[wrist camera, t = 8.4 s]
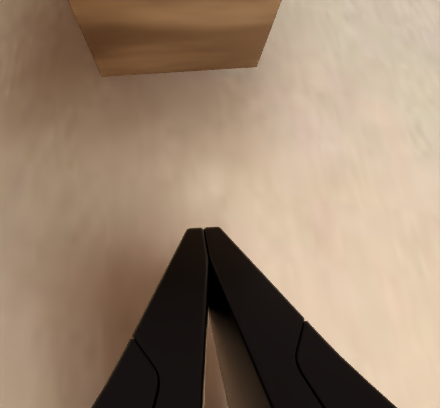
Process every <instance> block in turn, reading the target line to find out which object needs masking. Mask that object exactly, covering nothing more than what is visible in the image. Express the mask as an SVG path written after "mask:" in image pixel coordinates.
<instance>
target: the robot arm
mask: <svg viewBox="0 0 440 408" xmlns="http://www.w3.org/2000/svg"><path fill="white" fill-rule="evenodd" d="M208 312H209V318H210V323H211V327H212V332H213V337H214V341H215V346H216V351H217V355H218V360H219V365H220V369H221V374H222V379H223V383H224V388H225V393H226V397H227V402H228V407H229V408H397V407H396V406H395V405H393V404H392V403H391V402H390V401H389V400H388V399H387V398H386V397H385V396H383V395H382V394H381V393H380V392H379V391H378V390H377V389H376V388H375V387H373V386H372V385H371V384H370V383H369V382H368V381H367V380H366V379H365V378H364V377H362V376H361V375H360V374H359V373H358V372H357V371H356V370H355V369H354V368H353V367H352V366H351V365H350V364H349V363H348V362H346V361H345V360H344V359H343V358H342V357H341V356H340V355H339V354H338V353H337V352H336V351H335V350H334V349H333V348H332V347H331V346H330V345H329V344H328V343H327V342H326V341H325V340H324V339H323V337H322V336H321V335H320V334H319V333H318V332H317V331H316V330H315V329H314V328H313V327H312V326H311V325H310V324H309V323H308V321H304V317H303V316H302V315H301V314H300V313H299V312H298V311H297V310H296V309H295V308H294V307H293V306H292V304H291V303H290V302H289V301H288V300H287V299H286V298H285V297H284V296H283V295H282V294H281V293H280V292H279V290H278V289H277V288H276V287H275V286H274V285H273V284H272V283H271V282H270V281H269V280H268V279H267V278H266V276H265V275H264V274H263V273H262V272H261V271H260V270H259V269H258V268H257V267H256V266H255V265H254V264H253V263H252V261H251V260H250V259H249V258H248V257H247V256H246V255H245V254H244V253H243V252H242V251H241V250H240V249H239V247H238V246H237V245H236V244H235V243H234V242H233V241H232V240H231V239H230V238H229V237H228V236H227V235H226V233H225V232H224V231H223V230H222V229H221V228H220V227H206V228H204V230H203V229H202V228H189V229H187V230H186V232H185V234H184V236H183V238H182V240H181V242H180V244H179V246H178V248H177V250H176V252H175V253H174V255H173V257H172V259H171V261H170V263H169V265H168V267H167V269H166V271H165V273H164V275H163V277H162V279H161V281H160V283H159V284H158V286H157V288H156V290H155V292H154V294H153V296H152V298H151V300H150V302H149V304H148V306H147V308H146V310H145V312H144V314H143V315H142V317H141V319H140V321H139V323H138V325H137V327H136V329H135V331H134V333H133V335H132V339H130V340H129V342H128V344H127V346H126V348H125V350H124V352H123V354H122V356H121V358H120V359H119V361H118V363H117V365H116V367H115V369H114V370H113V372H112V374H111V376H110V378H109V379H108V381H107V383H106V385H105V386H104V388H103V390H102V391H101V393H100V394H99V396H98V398H97V399H96V401H95V402H94V404H93V406H92V407H91V408H204V403H205V376H206V350H207V324H208Z"/></svg>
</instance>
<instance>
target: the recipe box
mask: <svg viewBox="0 0 440 408" xmlns="http://www.w3.org/2000/svg"><path fill="white" fill-rule="evenodd" d="M68 1H69V3H70V6H71V8H72V10H73V12H74V15H75V17H76V19H77V21H78V24H79V26H80V28H81V30H82V33H83V35H84V37H85V39H86V42H87V44H88V46H89V48H90V51H91V53H92V55H93V57H94V60H95V62H96V64H97V66H98V69H99V71H100V73H101V75H102V76H118V75H134V74H150V73H166V72H183V71H199V70H215V69H231V68H248V67H257V64H258V61H259V59H260V56H261V54H262V51H263V48H264V46H265V43H266V40H267V38H268V35H269V32H270V30H271V27H272V25H273V22H274V19H275V17H276V14H277V11H278V9H279V6H280V3H281V1H282V0H68Z"/></svg>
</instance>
